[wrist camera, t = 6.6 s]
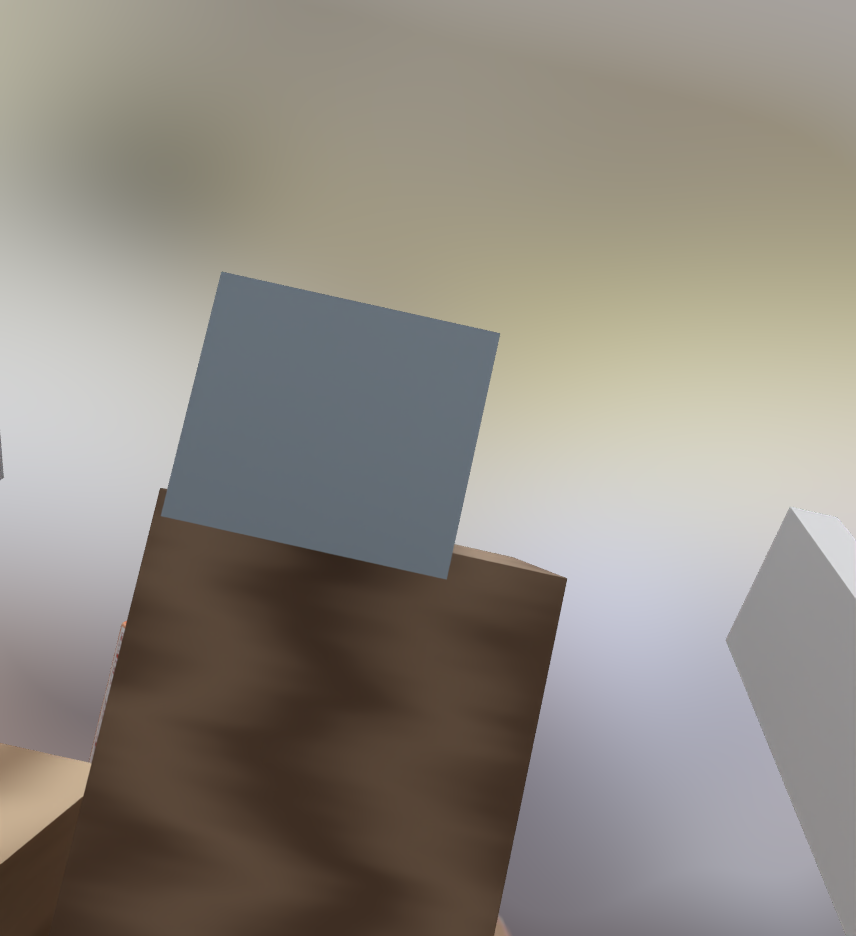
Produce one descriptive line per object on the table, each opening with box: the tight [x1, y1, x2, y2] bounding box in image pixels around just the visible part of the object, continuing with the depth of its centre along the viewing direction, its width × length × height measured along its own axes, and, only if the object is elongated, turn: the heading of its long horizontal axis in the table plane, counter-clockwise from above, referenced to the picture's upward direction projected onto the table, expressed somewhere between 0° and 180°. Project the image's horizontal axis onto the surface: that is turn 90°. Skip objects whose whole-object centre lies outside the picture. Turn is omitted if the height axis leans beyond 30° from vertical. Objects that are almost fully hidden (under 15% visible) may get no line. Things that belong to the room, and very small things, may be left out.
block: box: [161, 272, 500, 580], centre depth 24 cm, size 4×28×4 cm, turn 1°
